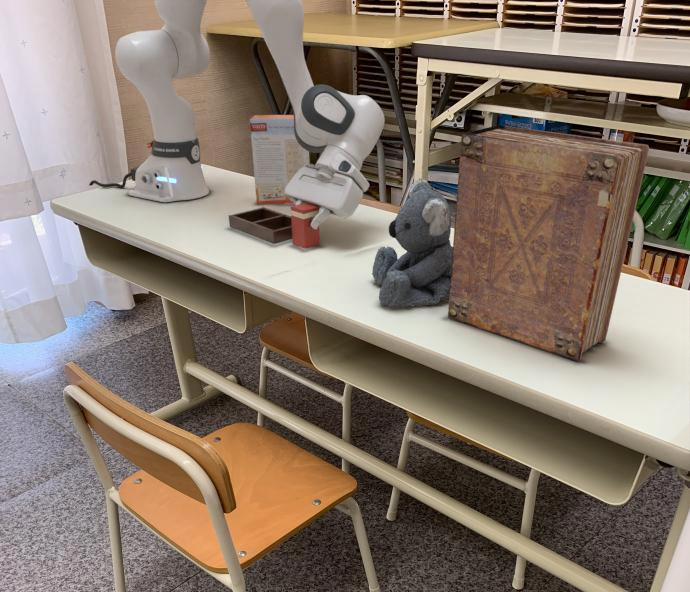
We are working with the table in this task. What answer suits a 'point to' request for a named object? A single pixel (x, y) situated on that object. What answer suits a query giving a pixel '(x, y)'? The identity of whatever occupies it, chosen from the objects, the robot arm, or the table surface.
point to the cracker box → (275, 156)
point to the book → (542, 234)
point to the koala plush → (417, 252)
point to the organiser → (263, 224)
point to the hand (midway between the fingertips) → (303, 224)
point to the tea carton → (304, 225)
